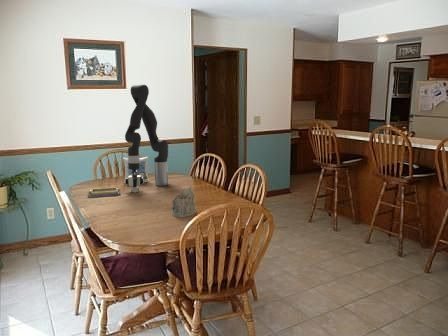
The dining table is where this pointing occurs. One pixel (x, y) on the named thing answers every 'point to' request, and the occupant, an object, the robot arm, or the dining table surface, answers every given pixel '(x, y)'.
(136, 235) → the dining table surface
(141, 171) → the pouch
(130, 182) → the pneumatic valve
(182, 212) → the grey rock
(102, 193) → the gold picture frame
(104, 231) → the dining table surface
